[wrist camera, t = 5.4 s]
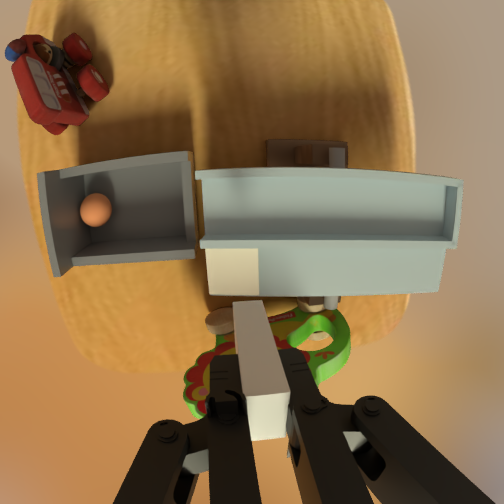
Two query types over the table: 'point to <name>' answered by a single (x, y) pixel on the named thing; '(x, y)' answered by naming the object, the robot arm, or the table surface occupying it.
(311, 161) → the stand
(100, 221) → the ball
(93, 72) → the toy fire truck
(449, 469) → the robot arm
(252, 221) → the lever
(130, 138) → the table surface
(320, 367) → the toy lion
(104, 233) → the pulled-out tray drawer
